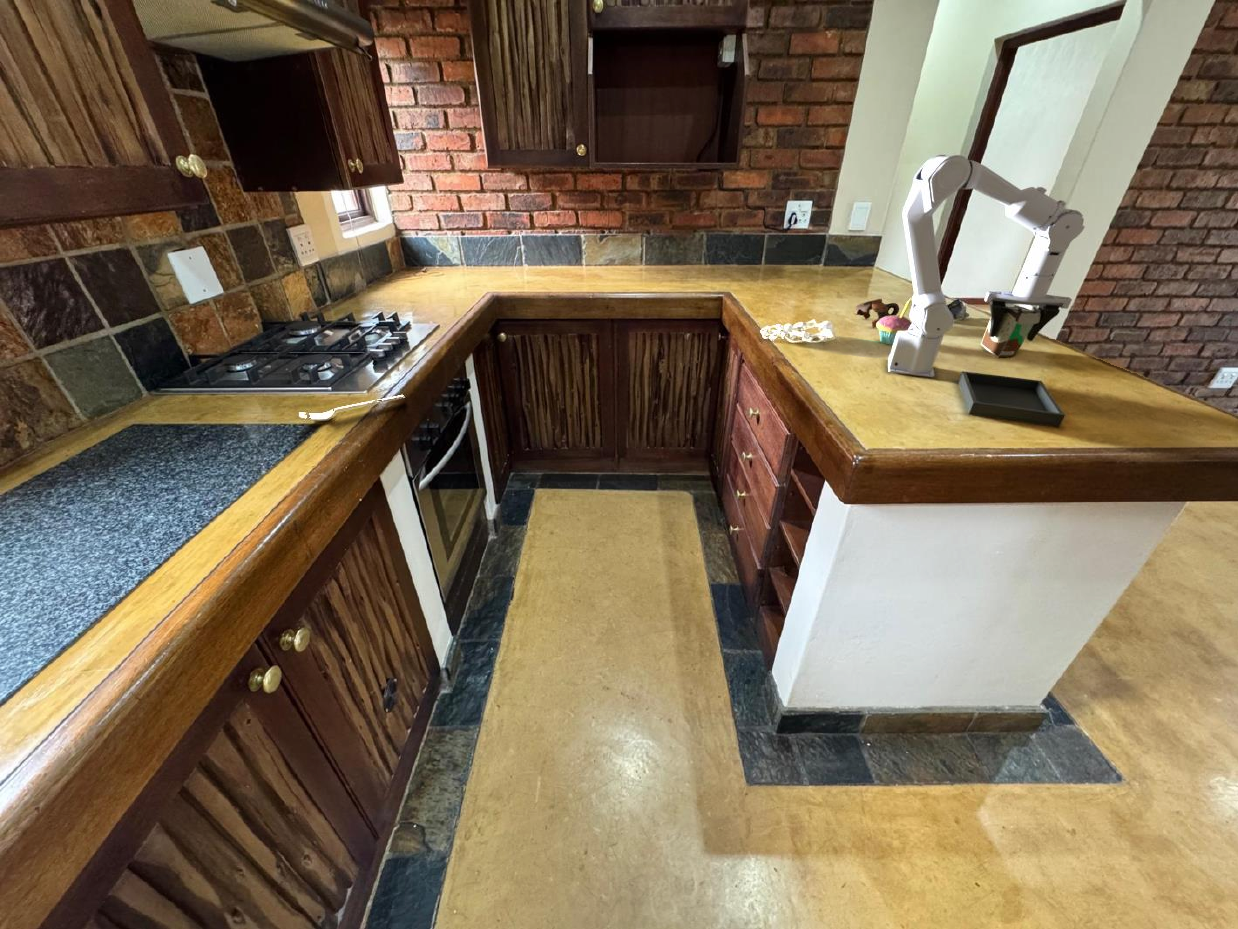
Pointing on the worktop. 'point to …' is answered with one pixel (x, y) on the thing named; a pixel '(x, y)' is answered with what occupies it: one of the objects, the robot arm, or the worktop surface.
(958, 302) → the snack package
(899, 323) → the cupcake
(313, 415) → the fork
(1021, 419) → the tray
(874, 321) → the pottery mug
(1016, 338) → the food container
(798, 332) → the tangled rod sculpture
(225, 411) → the worktop surface
